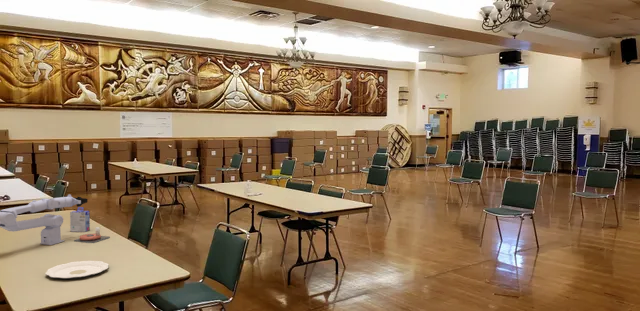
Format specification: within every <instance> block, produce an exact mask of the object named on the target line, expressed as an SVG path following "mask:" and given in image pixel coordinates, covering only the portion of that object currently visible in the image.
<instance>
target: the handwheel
mask: <svg viewBox="0 0 640 311" xmlns="http://www.w3.org/2000/svg"><path fill="white" fill-rule="evenodd" d="M100 230H101V227H100V226H95V233H87V234H81V235H80V236H78V239H80V240H94V239H98V238H101V236H102V234H101V231H100Z"/></svg>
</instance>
